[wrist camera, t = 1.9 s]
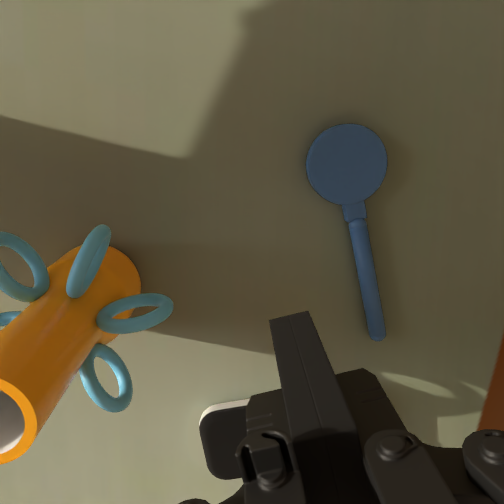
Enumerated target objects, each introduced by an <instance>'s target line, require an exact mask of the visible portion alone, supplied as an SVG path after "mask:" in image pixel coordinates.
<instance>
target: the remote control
mask: <svg viewBox="0 0 504 504" xmlns="http://www.w3.org/2000/svg"><path fill="white" fill-rule="evenodd" d="M249 400H250V399H244V400H238V401H232V402H226V403H219V404H215V405H212V406H210V407H208V408H207V409H206V410H205V411H204V412H203V414H202V415H201V419H200V425H199V429H200V436H201V440H202V445H203V449H204V453H205V458H206V462H207V466H208V469H209V471H210V472H211V473H212V475H214V476H215V477H217V478H219V479H224V480H229V479H236V478H242V476H241V473H240V469H239V466H238V463H237V460H236V456H235V454H236V450H237V446H238V445H239V444H240V442H241V441H242V440H243V439H244V438H245V437H246V436H247V428H246V422H247V421H246V406H247V404H248V402H249Z"/></svg>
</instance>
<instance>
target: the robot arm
mask: <svg viewBox="0 0 504 504" xmlns="http://www.w3.org/2000/svg"><path fill="white" fill-rule="evenodd" d="M269 323H270V329H271V334H272V339H273V345H274V350H275V355H276V361H277V366H278V371H279V376H280V382H281V387H282V389H278V390H273V391H269V392H265V393H261V394H257V395H252V396H251V398H250V400H249V402H248V404H247V406H246V421H247V422H246V428H247V436H246V437H245V438H244V439H243V440H242V441H241V442H240V444H239V445H238V446H237V450H236V454H235V456H236V460H237V463H238V466H239V469H240V473H241V476H242V479H243V482H244V484H243V485H242V487H241V488H240V489H239V490H238V491H237V492H236V493H235V494H234V495H233V496H231V497H229V498H228V499H226V500H225V501H223V502H221V503H219V504H504V431H500V430H488V429H485V430H480V431H477V432H473V433H472V434H470V435H469V436H468V437H466V438H465V440H464V443H463V445H462V448H442V447H434V446H430V445H427V444H424V443H422V442H421V441H420V440H419V439H418V438H417V437H416V436H415V435H413V434H411V433H409V432H408V431H407V430H406V428H405V426H404V424H403V423H402V421H401V419H400V418H399V416H398V414H397V412H396V411H395V409H394V407H393V405H392V404H391V402H390V400H389V399H388V397H387V395H386V393H385V392H384V390H383V388H382V387H381V385H380V383H379V381H378V380H377V378H376V376H375V375H373V374H372V373H370V372H369V371H367V370H366V369H364V368H361V369H357V370H353V371H348V372H344V373H340V374H336V375H335V374H334V371H333V369H332V366H331V364H330V362H329V359H328V357H327V354H326V352H325V350H324V347H323V345H322V342H321V340H320V338H319V335H318V333H317V330H316V328H315V326H314V323H313V321H312V318H311V316H310V314H309V311H305V312H301V313H296V314H292V315H288V316H284V317H280V318H276V319H272V320H269ZM179 504H210V503H208V502H207V501H206V500H202V499H196V498H195V499H190V500H185V501H183V502H181V503H179Z"/></svg>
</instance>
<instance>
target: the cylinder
mask: <svg viewBox="0 0 504 504" xmlns="http://www.w3.org/2000/svg"><path fill="white" fill-rule="evenodd" d="M110 239H111V230H110V228H109V227H108V226H107V225H103V224H102V225H98V226H96V227H95V228H94V229H93V230H92V231H91V232H90V234H89V235H88V236H87V238H86V240H85V241H84V243H83V245H81V246H78V247H76V248H74V249H72V250H70V251H69V252H67V253H66V254H65V255H63V256H62V257H61V258H59V259H58V260H57V261H55V262H54V263H53V264H52V265H50V266H49V267H48V268H46V266H45V264H44V262H43V260H42V259H41V257H40V256H39V254H38V253H37V252H36V251H35V250H34V249H33V247H32V246H30V245H29V244H28V243H27V242H26V241H24V240H23V239H21V238H20V237H18V236H16V235H14V234H11V233H8V232H0V246H6V247H9V248H11V249H12V250H14V251H15V252H17V253H18V254H19V255H20V256H21V257H22V258H23V259H24V260H25V261H26V262H27V264H28V265H29V267H30V269H31V271H32V273H33V276H34V281H35V283H34V285H33V287H32V288H30V287H26V286H23V285H22V284H20V283H18V282H17V281H16V280H14V279H13V278H12V277H11V276H10V275H9V274H8V272H7V271H6V270H5V268H4V267H3V265H2V263H1V261H0V289H1V290H2V291H3V292H4V293H6V294H7V295H9V296H10V297H12V298H14V299H17V300H19V301H23V302H30V305H29V306H28V307H27V308H26V309H25V310H24V311H11V312H4V313H0V326H4V325H7V326H5V327H4V328H3V329H2V330H1V331H0V464H4V463H7V462H10V461H13V460H15V459H17V458H18V457H20V456H21V455H22V454H24V453H25V452H26V451H27V450H28V449H29V447H30V446H31V444H32V443H33V441H34V440H35V438H36V437H37V435H38V433H39V432H40V430H41V429H42V427H43V425H44V424H45V422H46V421H47V419H48V418H49V416H50V414H51V413H52V411H53V410H54V408H55V407H56V405H57V403H58V402H59V400H60V399H61V397H62V395H63V394H64V392H65V391H66V389H67V388H68V386H69V384H70V383H71V381H72V380H73V378H74V377H75V375H76V373H77V372H78V370H79V372H80V377H81V380H82V383H83V386H84V388H85V390H86V391H87V393H88V395H89V396H90V397H91V399H92V400H93V401H94V402H95V403H96V404H97V405H98V406H99V407H101V408H102V409H104V410H106V411H109V412H120V411H123V410H124V409H125V408H127V407H128V405H129V404H130V402H131V399H132V394H133V388H132V381H131V377H130V374H129V372H128V370H127V367H126V366H125V364H124V362H123V361H122V359H121V358H120V357H119V355H118V354H117V353H116V352H115V351H114V350H112V349H111V348H110V347H108V346H106V344H107V343H109V342H111V341H112V340H113V339H115V338H116V337H117V336H118V335H119V334H127V333H134V332H138V331H142V330H145V329H148V328H151V327H153V326H156V325H158V324H159V323H161V322H163V321H164V320H166V319H167V318H168V317H169V316H170V315H171V313H172V311H173V302H172V300H171V299H170V298H169V297H168V296H166V295H163V294H158V293H144V294H140V293H141V281H140V276H139V273H138V271H137V269H136V267H135V265H134V264H133V263H132V261H131V260H130V259H129V258H128V257H127V256H126V255H125V254H123V253H122V252H121V251H119V250H117V249H115V248H113V247H110V246H109V243H110ZM143 306H156V307H158V308H157V309H155V310H153V311H152V312H149V313H147V314H144V315H141V316H138V317H133V318H130V316H131V314H132V312H133V310H134V309H135V308H137V307H143ZM95 357H100V358H102V359H103V360H105V361H106V362H107V363H108V364H109V365H110V367H111V368H112V370H113V371H114V373H115V375H116V377H117V380H118V383H119V397H118V398H114V397H112V396H110V395H109V394H108V393H107V392H106V391H105V390H104V389H103V387H102V386H101V384H100V383H99V381H98V379H97V377H96V374H95V370H94V358H95Z"/></svg>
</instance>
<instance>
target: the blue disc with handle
mask: <svg viewBox="0 0 504 504" xmlns="http://www.w3.org/2000/svg"><path fill="white" fill-rule="evenodd" d="M386 170H387V154H386V150H385V147H384V145H383V143H382V141H381V139H380V138H379V137H378V136H377V135H376V134H375V133H374V132H373V131H372V130H370V129H369V128H367V127H364V126H362V125H358V124H340V125H336V126H333V127H331V128H329V129H327V130H325V131H324V132H322V133H321V134H320V135H319V136H318V137H317V138H316V139H315V141H314V142H313V143H312V145H311V147H310V149H309V152H308V155H307V160H306V172H307V176H308V179H309V182H310V184H311V186H312V187H313V189H314V190H315V191H316V192H317V193H318V194H319V195H320V196H322V197H323V198H324V199H326V200H328V201H330V202H332V203H335V204H340V205H342V209H343V214H344V220H345V221H346V222H349V230H350V236H351V241H352V246H353V251H354V257H355V262H356V267H357V272H358V278H359V283H360V288H361V294H362V299H363V304H364V309H365V315H366V320H367V325H368V330H369V335H370V337H371V339H373V340H374V341H382V340H383V339H384V338H385V336H386V330H385V325H384V319H383V313H382V308H381V302H380V296H379V291H378V285H377V279H376V274H375V268H374V263H373V257H372V251H371V246H370V240H369V234H368V229H367V223H366V221H365V220H364V218H367V213H366V208H365V202H364V200H365V199H367V198H368V197H370V196H371V195H372V194H373V193H374V192H375V191H376V190H377V189H378V188H379V186H380V185H381V183H382V181H383V179H384V177H385V174H386Z"/></svg>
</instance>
